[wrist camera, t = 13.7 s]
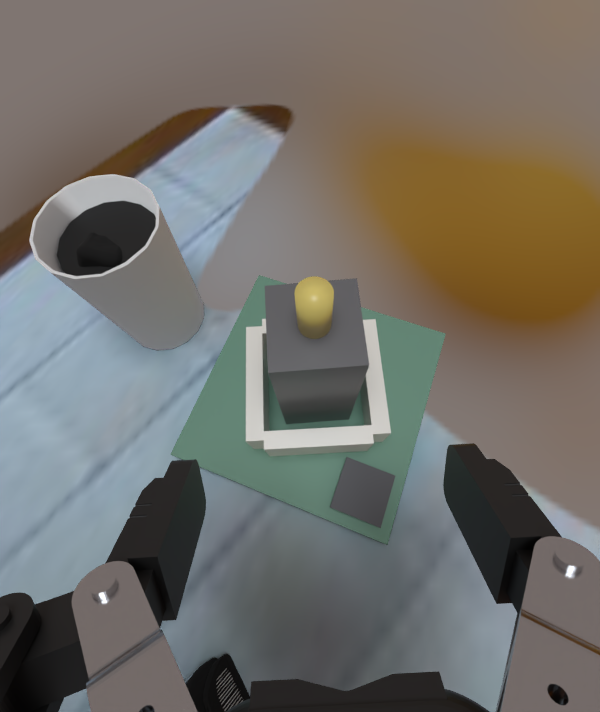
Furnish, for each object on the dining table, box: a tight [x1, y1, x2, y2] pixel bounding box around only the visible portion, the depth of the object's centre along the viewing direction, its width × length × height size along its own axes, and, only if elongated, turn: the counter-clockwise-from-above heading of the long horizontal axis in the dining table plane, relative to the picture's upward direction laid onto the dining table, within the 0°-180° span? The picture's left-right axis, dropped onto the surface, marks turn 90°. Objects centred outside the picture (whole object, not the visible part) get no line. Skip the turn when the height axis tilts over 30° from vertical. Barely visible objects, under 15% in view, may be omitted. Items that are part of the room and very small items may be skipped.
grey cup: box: [29, 174, 204, 350], centre depth 24 cm, size 7×7×10 cm
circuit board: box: [171, 275, 445, 545], centre depth 25 cm, size 14×14×2 cm
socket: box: [246, 319, 391, 456], centre depth 24 cm, size 8×8×3 cm
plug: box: [265, 277, 369, 424], centre depth 19 cm, size 4×4×12 cm
